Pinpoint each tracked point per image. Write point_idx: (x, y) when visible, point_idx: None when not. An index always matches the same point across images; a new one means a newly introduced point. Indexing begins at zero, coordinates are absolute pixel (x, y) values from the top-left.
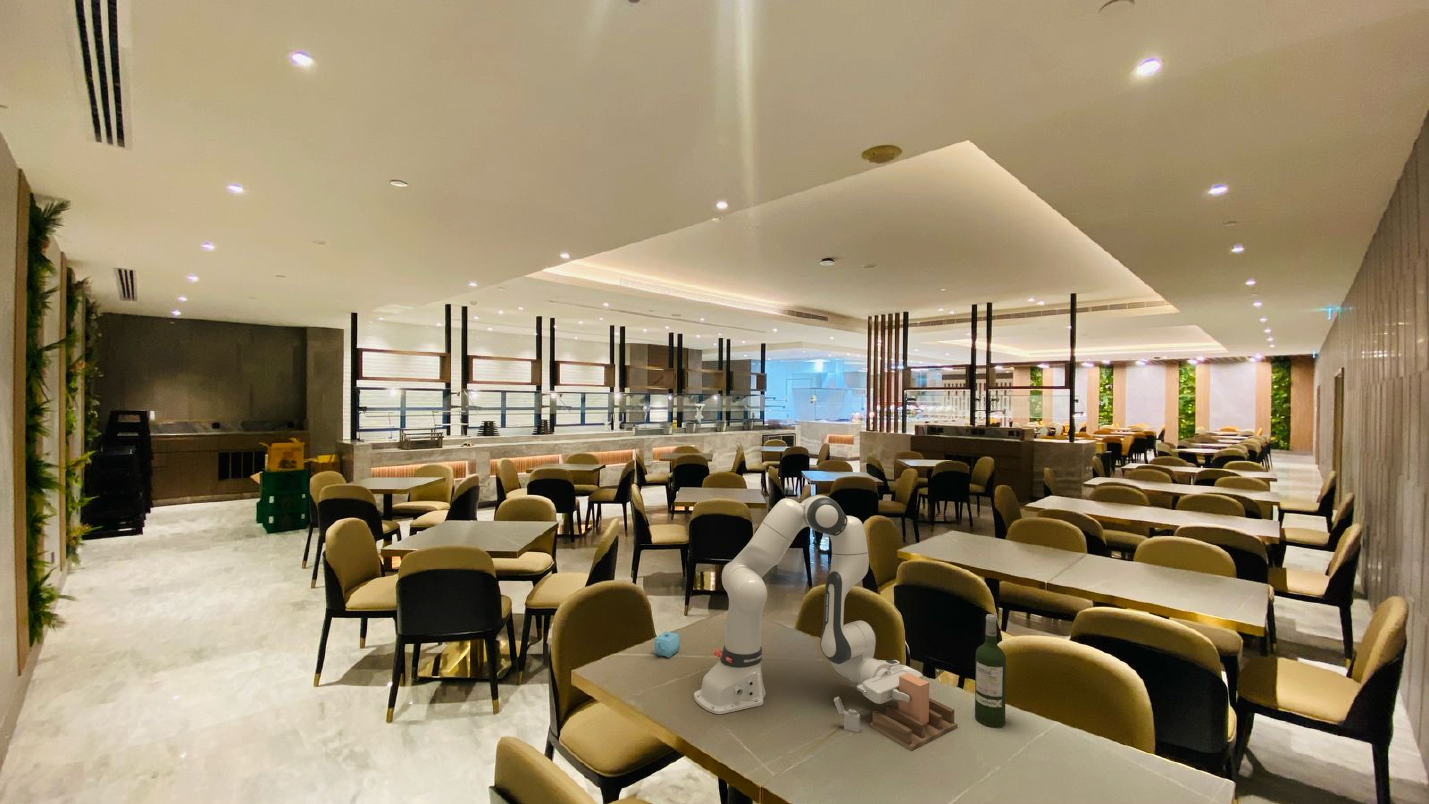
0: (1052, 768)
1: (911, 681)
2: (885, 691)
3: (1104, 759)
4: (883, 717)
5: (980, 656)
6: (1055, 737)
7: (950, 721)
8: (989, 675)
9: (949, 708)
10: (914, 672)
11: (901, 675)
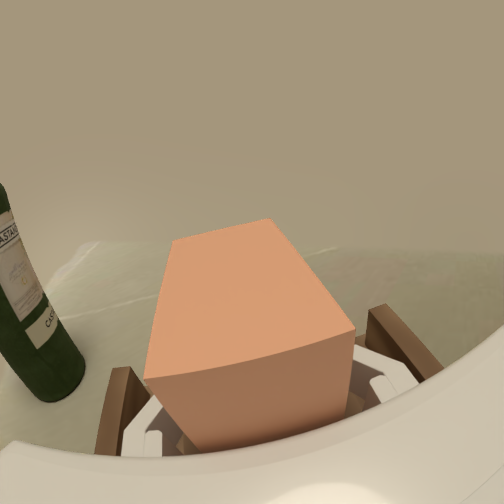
0: (148, 269)
1: (284, 247)
2: (483, 342)
3: (84, 272)
4: None
5: None
6: (60, 308)
7: (147, 392)
8: (18, 236)
9: (115, 379)
10: (9, 489)
11: (307, 341)
